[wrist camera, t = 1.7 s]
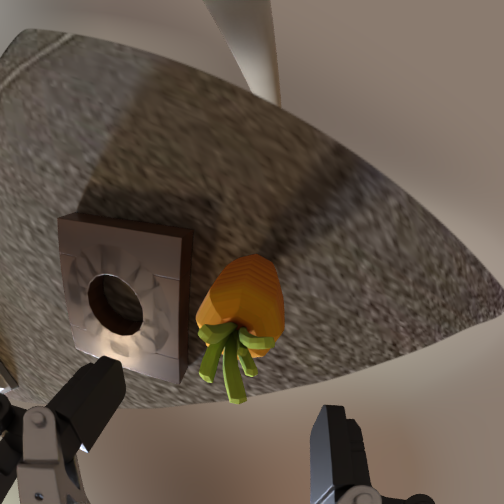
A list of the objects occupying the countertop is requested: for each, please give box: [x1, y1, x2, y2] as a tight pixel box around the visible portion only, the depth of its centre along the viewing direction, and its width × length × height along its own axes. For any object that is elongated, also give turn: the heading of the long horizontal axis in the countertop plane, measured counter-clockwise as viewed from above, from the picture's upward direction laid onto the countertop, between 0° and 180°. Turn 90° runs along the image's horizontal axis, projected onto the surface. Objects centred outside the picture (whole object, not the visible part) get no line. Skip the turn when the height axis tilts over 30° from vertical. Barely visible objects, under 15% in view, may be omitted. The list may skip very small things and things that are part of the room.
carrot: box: [196, 254, 285, 404], centre depth 18 cm, size 5×5×15 cm
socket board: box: [57, 212, 194, 384], centre depth 26 cm, size 16×14×3 cm
